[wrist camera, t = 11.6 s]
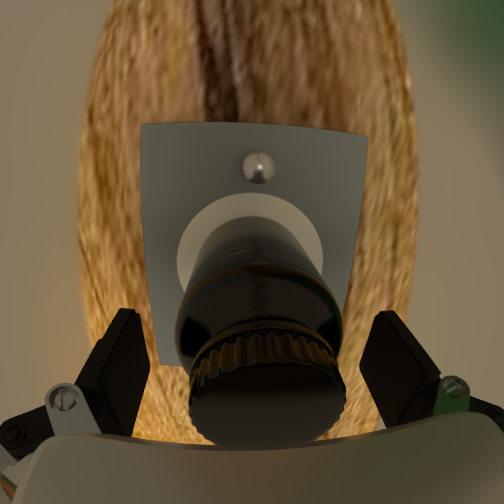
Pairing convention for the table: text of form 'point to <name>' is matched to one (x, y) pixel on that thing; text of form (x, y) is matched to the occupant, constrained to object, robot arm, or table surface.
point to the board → (244, 200)
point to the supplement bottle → (259, 339)
